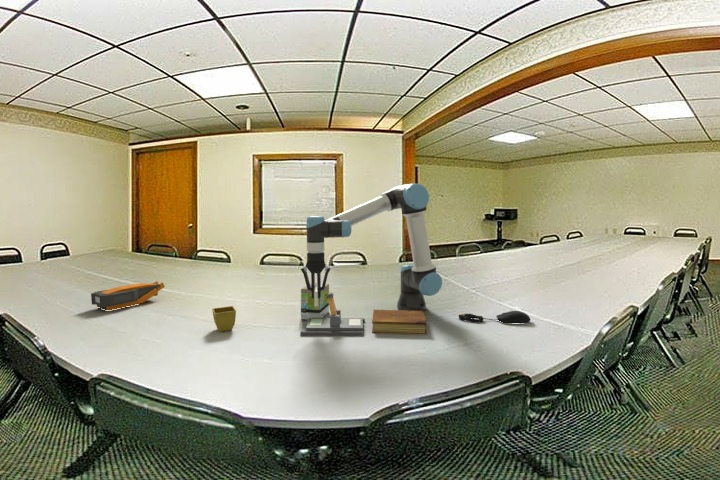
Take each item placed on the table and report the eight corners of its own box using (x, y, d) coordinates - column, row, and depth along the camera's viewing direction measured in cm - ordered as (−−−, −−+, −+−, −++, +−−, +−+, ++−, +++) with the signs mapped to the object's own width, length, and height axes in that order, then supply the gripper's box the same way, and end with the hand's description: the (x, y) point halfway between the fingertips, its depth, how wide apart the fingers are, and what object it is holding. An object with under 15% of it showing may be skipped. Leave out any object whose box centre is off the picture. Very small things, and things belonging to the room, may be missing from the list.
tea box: (320, 320, 176) (320, 289, 174) (300, 319, 178) (299, 288, 176) (329, 311, 190) (329, 283, 189) (310, 310, 192) (310, 282, 191)
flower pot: (215, 334, 157) (214, 313, 156) (212, 328, 165) (211, 308, 164) (236, 331, 161) (236, 310, 160) (233, 325, 169) (232, 305, 168)
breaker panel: (362, 323, 172) (362, 308, 172) (363, 333, 158) (363, 317, 158) (310, 323, 172) (310, 308, 172) (306, 333, 158) (305, 317, 158)
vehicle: (169, 299, 215) (168, 282, 214) (103, 314, 186) (101, 294, 185) (155, 296, 222) (154, 279, 221) (89, 309, 194) (88, 290, 193)
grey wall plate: (364, 321, 175) (364, 318, 175) (365, 335, 156) (365, 332, 156) (306, 321, 175) (306, 318, 175) (300, 335, 156) (300, 332, 156)
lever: (339, 319, 168) (332, 291, 167) (338, 323, 162) (331, 294, 161) (333, 320, 168) (327, 292, 167) (332, 324, 162) (326, 295, 161)
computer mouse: (533, 325, 170) (533, 314, 170) (460, 323, 173) (460, 311, 173) (526, 319, 179) (526, 308, 179) (457, 317, 183) (457, 306, 182)
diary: (422, 322, 176) (423, 310, 175) (426, 336, 157) (427, 322, 157) (373, 320, 178) (373, 308, 177) (371, 334, 159) (371, 320, 159)
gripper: (331, 250, 166) (331, 303, 168) (301, 250, 166) (302, 303, 168) (330, 253, 158) (330, 307, 161) (299, 253, 158) (300, 307, 161)
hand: (316, 305), depth 164 cm, fingers closed
